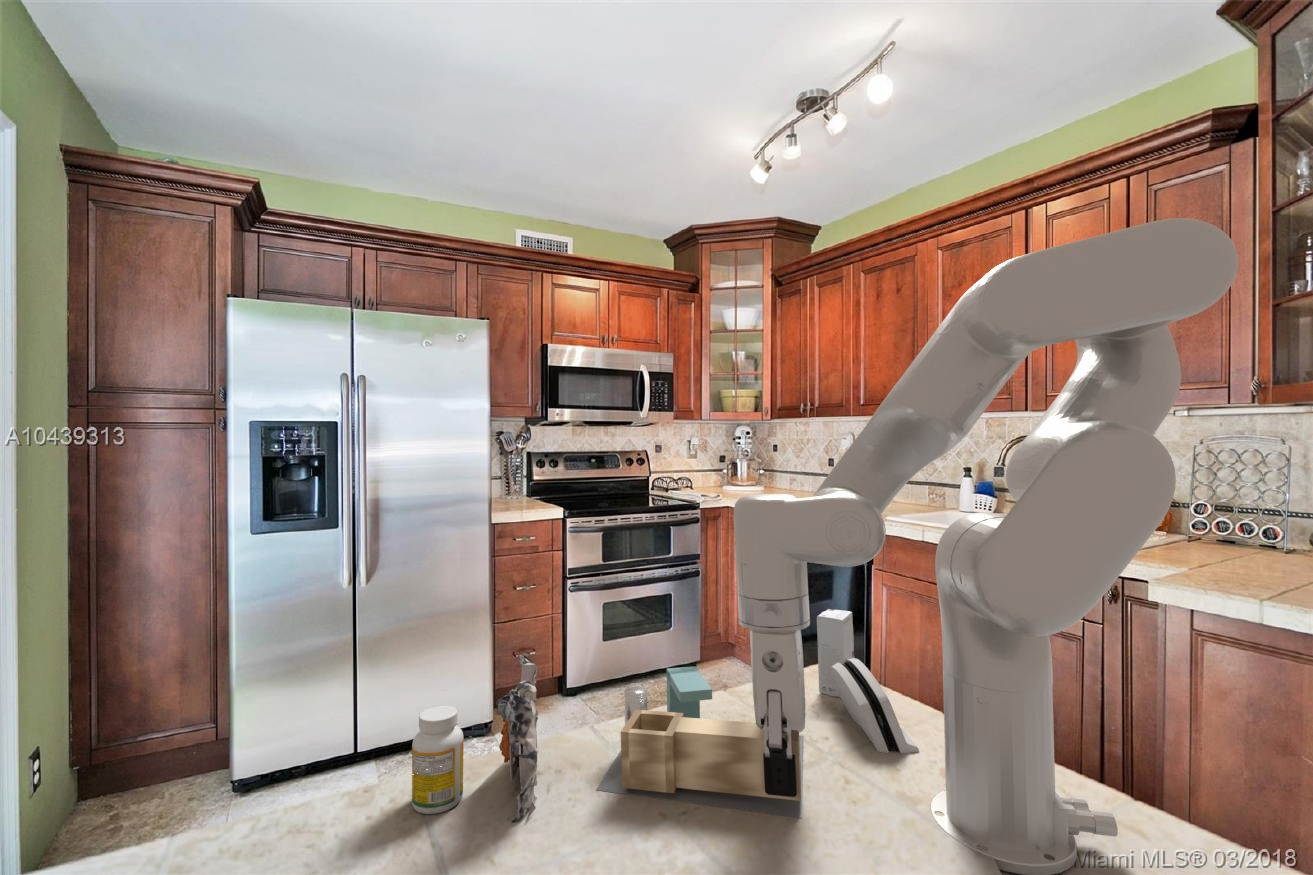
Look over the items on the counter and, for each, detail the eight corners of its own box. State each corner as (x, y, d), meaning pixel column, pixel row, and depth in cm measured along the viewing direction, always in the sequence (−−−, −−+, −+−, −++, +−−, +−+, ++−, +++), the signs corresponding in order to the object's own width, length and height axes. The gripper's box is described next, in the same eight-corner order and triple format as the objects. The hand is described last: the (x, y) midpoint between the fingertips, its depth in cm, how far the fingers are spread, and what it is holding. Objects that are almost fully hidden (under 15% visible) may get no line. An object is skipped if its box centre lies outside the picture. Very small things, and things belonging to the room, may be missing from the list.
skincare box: (845, 699, 92) (844, 620, 92) (817, 693, 94) (815, 616, 94) (856, 686, 97) (855, 611, 97) (829, 680, 99) (827, 607, 100)
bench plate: (803, 745, 77) (803, 736, 77) (802, 830, 60) (802, 818, 60) (640, 727, 83) (640, 719, 83) (596, 801, 65) (595, 790, 65)
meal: (503, 762, 74) (502, 655, 74) (538, 758, 75) (537, 653, 75) (494, 838, 59) (494, 705, 60) (538, 832, 60) (538, 701, 61)
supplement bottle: (440, 820, 62) (439, 727, 62) (400, 809, 64) (400, 719, 64) (473, 793, 67) (473, 707, 68) (436, 783, 69) (436, 700, 69)
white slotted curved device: (924, 763, 73) (894, 685, 73) (888, 776, 73) (858, 698, 73) (877, 705, 89) (853, 642, 90) (848, 716, 89) (824, 653, 90)
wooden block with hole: (622, 787, 65) (620, 731, 65) (637, 761, 70) (635, 709, 71) (800, 807, 60) (798, 746, 60) (801, 776, 66) (799, 721, 66)
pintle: (650, 748, 75) (649, 687, 75) (644, 759, 72) (643, 696, 72) (628, 745, 75) (628, 685, 76) (622, 756, 73) (621, 694, 73)
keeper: (680, 759, 72) (680, 692, 72) (667, 729, 80) (666, 668, 80) (712, 755, 73) (712, 689, 73) (696, 726, 81) (695, 666, 81)
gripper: (809, 633, 55) (819, 835, 55) (809, 592, 71) (817, 748, 71) (728, 630, 57) (737, 826, 56) (746, 591, 73) (753, 743, 72)
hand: (781, 781), depth 63 cm, fingers closed on wooden block with hole, 3 cm apart
